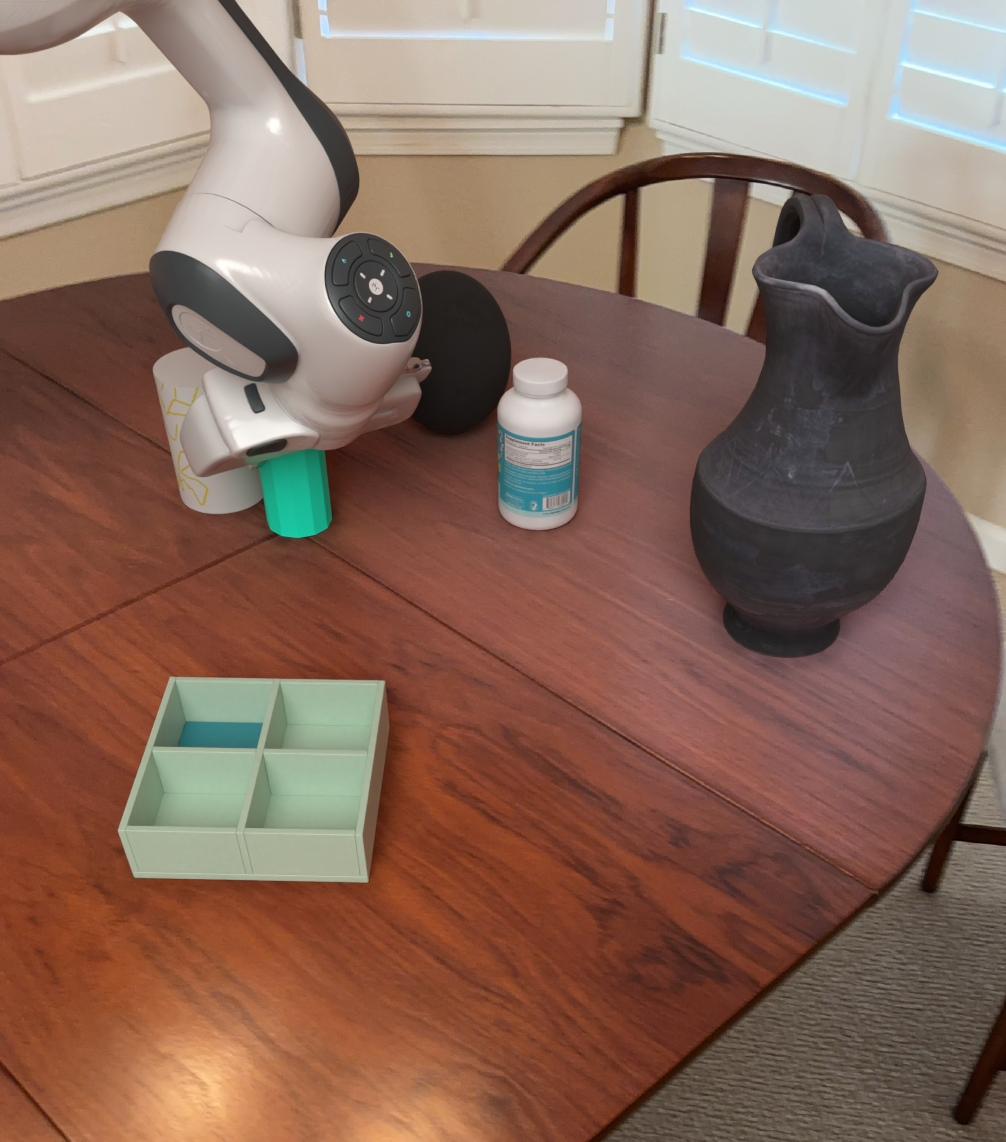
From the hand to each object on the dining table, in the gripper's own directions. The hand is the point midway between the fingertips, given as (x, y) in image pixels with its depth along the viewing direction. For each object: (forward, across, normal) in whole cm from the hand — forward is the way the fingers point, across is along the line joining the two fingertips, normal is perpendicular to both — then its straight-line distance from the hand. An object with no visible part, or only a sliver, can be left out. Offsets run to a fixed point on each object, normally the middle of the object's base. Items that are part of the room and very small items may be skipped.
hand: (286, 450), depth 105 cm
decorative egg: (+10, -21, 0) cm, 23 cm away
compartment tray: (-19, +17, +28) cm, 38 cm away
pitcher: (-20, -28, +29) cm, 45 cm away
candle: (+4, 0, +5) cm, 7 cm away
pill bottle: (-3, -20, +12) cm, 23 cm away
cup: (+10, +4, -1) cm, 11 cm away
